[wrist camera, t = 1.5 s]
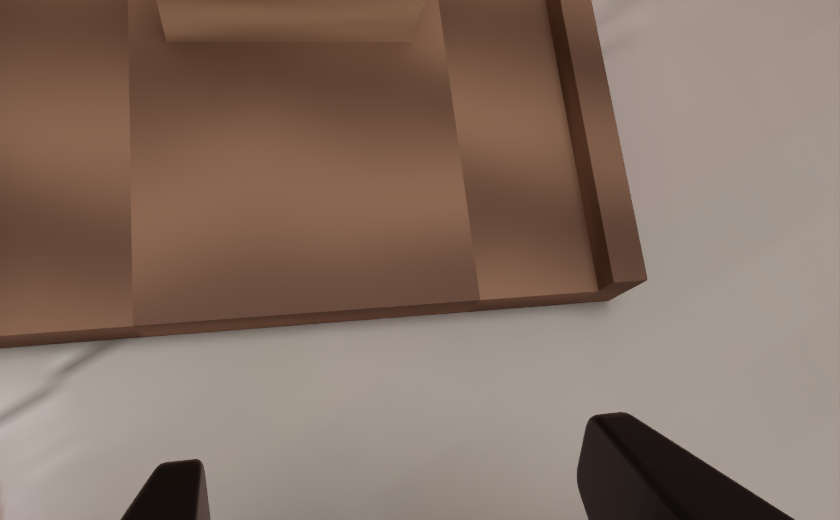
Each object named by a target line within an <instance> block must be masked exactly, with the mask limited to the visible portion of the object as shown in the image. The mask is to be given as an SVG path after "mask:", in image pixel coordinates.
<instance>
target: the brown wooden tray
mask: <svg viewBox="0 0 840 520" xmlns="http://www.w3.org/2000/svg"><path fill="white" fill-rule="evenodd" d="M645 281H647V275H646V270H645V265H644V260H643V255H642V250H641V245H640V240H639V235H638V230H637V225H636V220H635V215H634V210H633V205H632V200H631V195H630V190H629V185H628V181H627V176H626V171H625V166H624V161H623V156H622V151H621V146H620V141H619V136H618V131H617V126H616V121H615V116H614V111H613V106H612V101H611V96H610V91H609V86H608V81H607V76H606V71H605V67H604V62H603V57H602V52H601V47H600V42H599V37H598V32H597V27H596V22H595V17H594V12H593V7H592V2H591V0H425V2H424V5H423V8H422V11H421V15H420V18H419V21H418V24H417V27H416V30H415V34H414V37H413V40H412V42H166V38H165V34H164V30H163V26H162V22H161V18H160V14H159V9H158V5H157V1H156V0H0V348H7V347H20V346H33V345H46V344H58V343H71V342H84V341H97V340H110V339H122V338H135V337H148V336H161V335H174V334H187V333H199V332H212V331H225V330H238V329H251V328H264V327H276V326H289V325H302V324H315V323H328V322H341V321H353V320H366V319H379V318H392V317H405V316H418V315H430V314H443V313H456V312H469V311H482V310H495V309H507V308H520V307H533V306H546V305H559V304H572V303H584V302H597V301H609V300H611V299H613V298H615V297H616V296H618V295H620V294H622V293H624V292H626V291H628V290H630V289H631V288H633V287H635V286H637V285H639V284H641V283H643V282H645Z"/></svg>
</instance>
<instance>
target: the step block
mask: <svg viewBox="0 0 840 520" xmlns="http://www.w3.org/2000/svg"><path fill="white" fill-rule="evenodd" d="M156 1H157V5H158V9H159V14H160V18H161V22H162V26H163V30H164V34H165V38H166V42H412V40H413V37H414V34H415V30H416V27H417V24H418V21H419V18H420V15H421V11H422V8H423V5H424V2H425V0H156Z"/></svg>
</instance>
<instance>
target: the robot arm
mask: <svg viewBox="0 0 840 520" xmlns="http://www.w3.org/2000/svg"><path fill="white" fill-rule="evenodd" d="M577 483H578V488H579V492H580V495H581V498H582V501H583V504H584V507H585V510H586V513H587V516H588V519H589V520H794V519H793V518H791V517H790V516H788V515H787V514H785V513H784V512H782V511H780V510H779V509H777V508H776V507H774V506H773V505H771V504H769V503H768V502H766V501H765V500H763V499H762V498H760V497H759V496H757V495H755V494H754V493H752V492H751V491H749V490H748V489H746V488H744V487H743V486H741V485H740V484H738V483H737V482H735V481H734V480H732V479H730V478H729V477H727V476H726V475H724V474H723V473H721V472H719V471H718V470H716V469H715V468H713V467H712V466H710V465H709V464H707V463H705V462H704V461H702V460H701V459H699V458H698V457H696V456H694V455H693V454H691V453H690V452H688V451H687V450H685V449H684V448H682V447H680V446H679V445H677V444H676V443H674V442H673V441H671V440H669V439H668V438H666V437H665V436H663V435H662V434H660V433H659V432H657V431H655V430H654V429H652V428H651V427H649V426H648V425H646V424H644V423H643V422H641V421H640V420H638V419H637V418H635V417H634V416H632V415H630V414H628V413H623V412H618V413H609V414H600V415H595V416H593V417H591V418H590V419H589V421H588V422H587V425H586V429H585V434H584V439H583V443H582V448H581V453H580V458H579V463H578V468H577ZM121 520H210V512H209V503H208V495H207V487H206V478H205V471H204V466H203V464H202V462H201V461H200V460H198V459H193V460H184V461H175V462H166V463H162V464H160V465H159V466H158V467H157V468H156V469H155V470H154V472H153V473H152V475H151V476H150V478H149V479H148V480H147V482H146V483H145V485H144V486H143V488H142V489H141V491H140V492H139V494H138V495H137V496H136V498H135V499H134V501H133V502H132V504H131V505H130V507H129V508H128V510H127V511H126V513H125V514H124V515H123V517H122V518H121Z"/></svg>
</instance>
